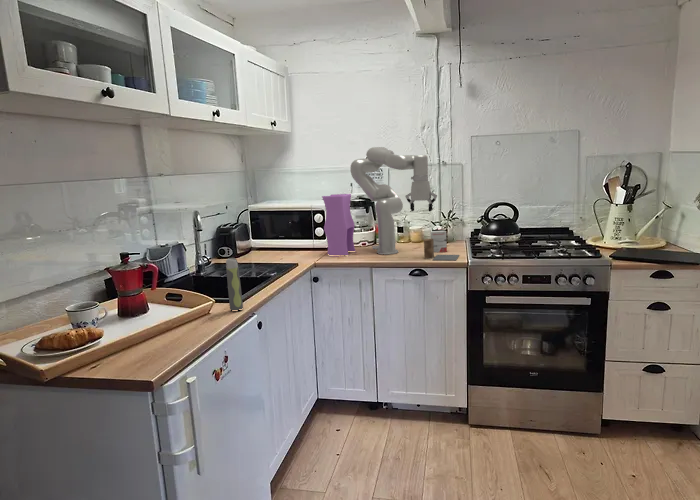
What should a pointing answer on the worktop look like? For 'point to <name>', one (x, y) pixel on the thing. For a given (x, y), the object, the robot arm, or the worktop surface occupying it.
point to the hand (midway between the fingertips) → (421, 211)
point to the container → (339, 224)
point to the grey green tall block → (234, 284)
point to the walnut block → (428, 248)
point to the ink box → (439, 241)
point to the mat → (446, 257)
